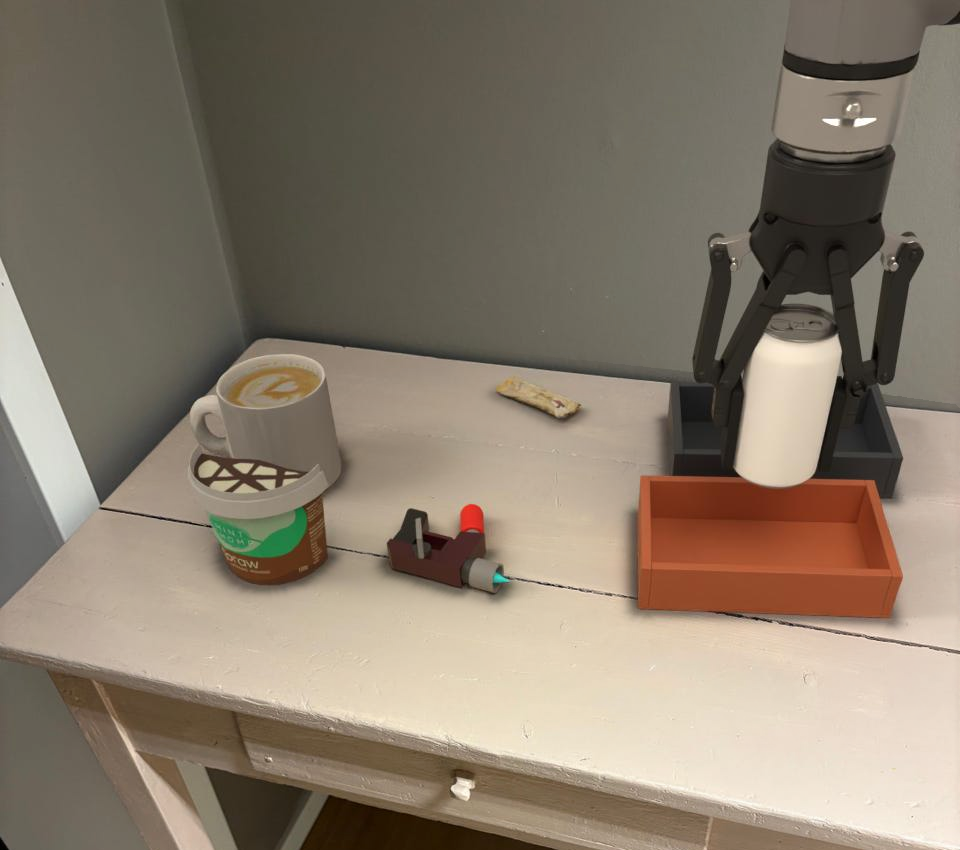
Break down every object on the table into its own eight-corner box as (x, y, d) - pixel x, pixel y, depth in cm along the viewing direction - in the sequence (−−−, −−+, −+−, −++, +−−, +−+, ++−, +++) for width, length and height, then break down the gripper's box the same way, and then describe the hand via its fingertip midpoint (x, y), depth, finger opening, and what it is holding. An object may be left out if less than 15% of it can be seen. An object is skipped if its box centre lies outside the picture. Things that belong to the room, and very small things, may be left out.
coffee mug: (356, 449, 99) (341, 358, 92) (318, 508, 92) (299, 414, 85) (235, 436, 102) (211, 346, 95) (190, 491, 95) (161, 399, 88)
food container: (184, 578, 86) (152, 483, 79) (221, 536, 90) (193, 442, 83) (311, 606, 82) (288, 509, 76) (343, 561, 87) (324, 464, 80)
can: (728, 442, 80) (748, 299, 71) (811, 445, 79) (842, 300, 70) (731, 489, 75) (754, 343, 67) (819, 493, 74) (854, 344, 66)
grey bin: (868, 422, 98) (878, 383, 95) (891, 498, 89) (903, 457, 86) (667, 419, 100) (670, 381, 97) (670, 493, 91) (674, 453, 88)
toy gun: (502, 605, 81) (500, 559, 78) (374, 571, 85) (367, 526, 82) (546, 536, 88) (546, 491, 84) (425, 508, 92) (420, 463, 88)
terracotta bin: (863, 520, 87) (874, 479, 84) (890, 618, 78) (903, 576, 75) (637, 514, 89) (640, 474, 86) (638, 608, 80) (641, 568, 77)
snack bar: (493, 389, 105) (511, 370, 106) (497, 399, 106) (515, 380, 107) (563, 418, 100) (581, 398, 100) (566, 428, 101) (584, 408, 102)
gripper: (673, 165, 59) (646, 485, 75) (1017, 161, 57) (914, 492, 73) (669, 124, 64) (645, 431, 80) (984, 118, 62) (895, 436, 78)
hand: (773, 459), depth 76 cm, fingers closed on can, 6 cm apart
